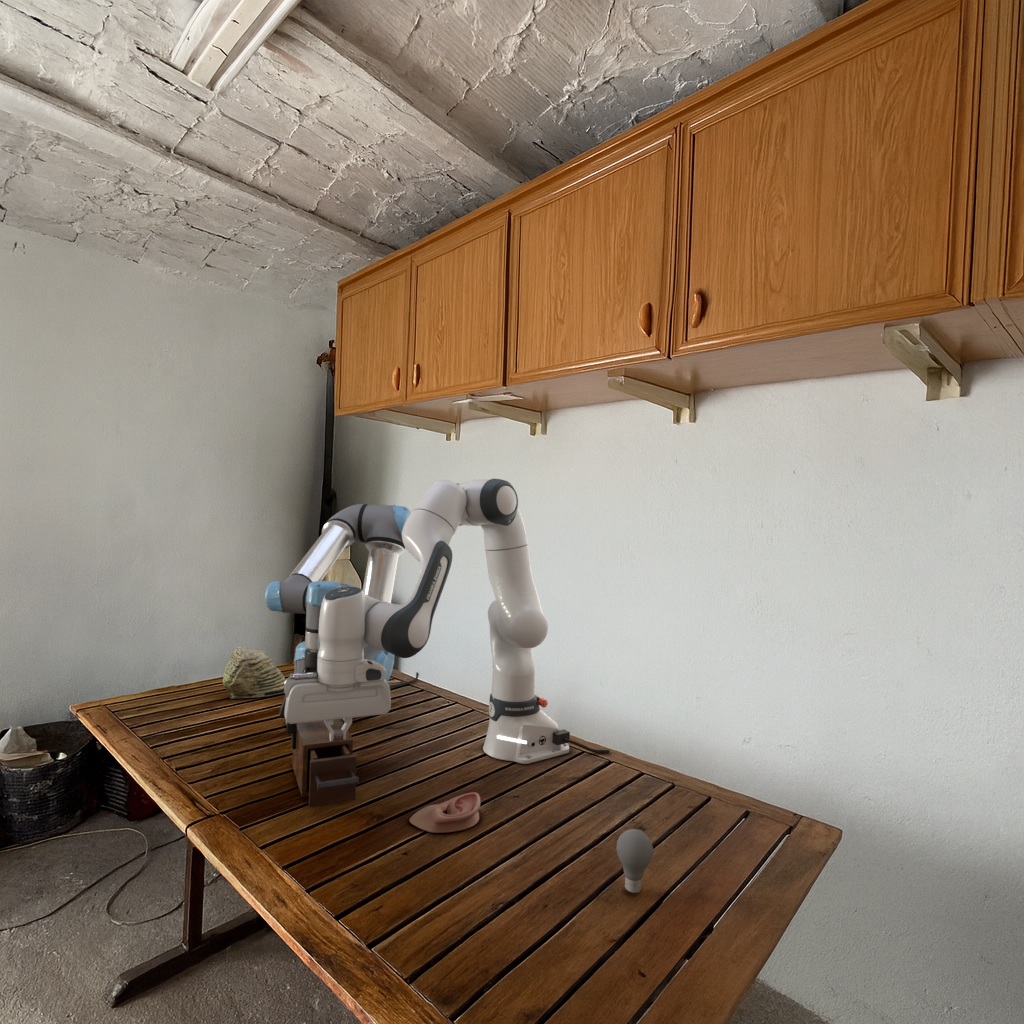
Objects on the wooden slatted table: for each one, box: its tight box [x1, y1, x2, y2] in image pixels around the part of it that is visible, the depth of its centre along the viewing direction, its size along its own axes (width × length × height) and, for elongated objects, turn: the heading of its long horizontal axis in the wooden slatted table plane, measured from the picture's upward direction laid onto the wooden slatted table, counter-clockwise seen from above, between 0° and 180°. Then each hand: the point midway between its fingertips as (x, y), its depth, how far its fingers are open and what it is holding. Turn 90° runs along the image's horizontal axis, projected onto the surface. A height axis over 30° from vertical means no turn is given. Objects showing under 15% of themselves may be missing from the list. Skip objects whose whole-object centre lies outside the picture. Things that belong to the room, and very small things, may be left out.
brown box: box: [291, 719, 354, 798], centre depth 143 cm, size 18×10×11 cm, turn 25°
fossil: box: [222, 646, 286, 699], centre depth 198 cm, size 9×18×15 cm, turn 132°
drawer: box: [307, 745, 360, 808], centre depth 133 cm, size 22×9×9 cm, turn 25°
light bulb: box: [615, 828, 654, 894], centre depth 106 cm, size 6×6×10 cm
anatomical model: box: [409, 791, 481, 834], centre depth 126 cm, size 13×4×12 cm
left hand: (318, 744), depth 147 cm, fingers closed on brown box, 10 cm apart
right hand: (337, 739), depth 125 cm, fingers closed
